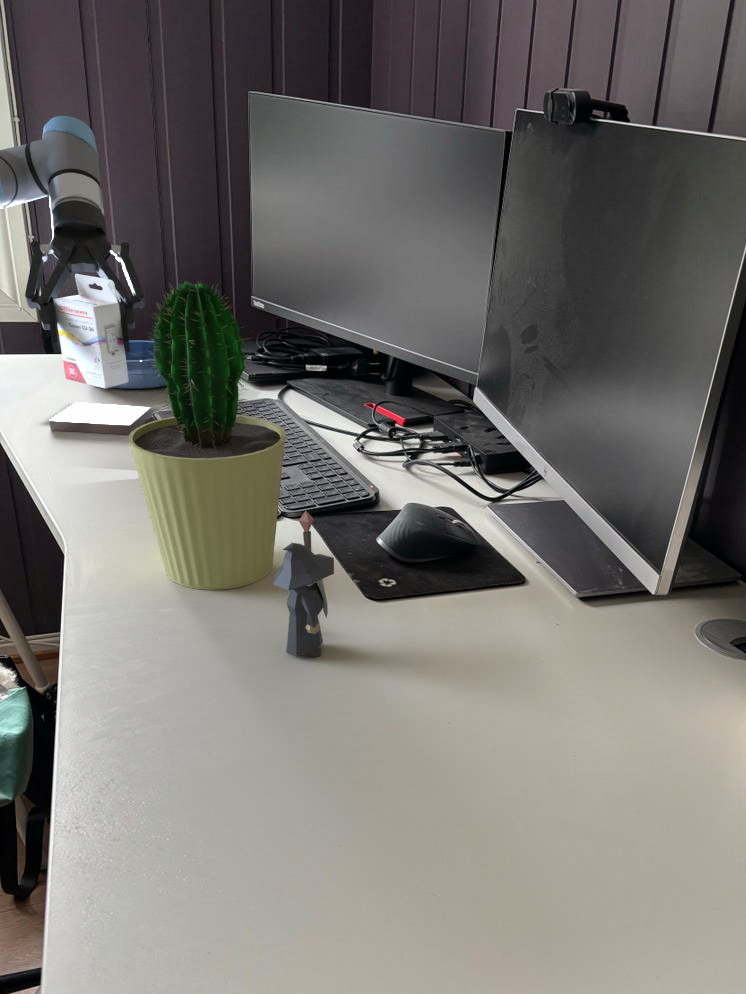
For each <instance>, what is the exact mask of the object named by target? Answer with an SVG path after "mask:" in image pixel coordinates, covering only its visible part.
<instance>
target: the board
mask: <svg viewBox="0 0 746 994" xmlns="http://www.w3.org/2000/svg"><path fill="white" fill-rule="evenodd" d="M153 417H154V415H153V407H152V406H139V405H137V406H136V405H121V404H120V405H119V404H107V403H105V404H103V403H90V402H89V403H88V402H87V403H86V402H75V403H73V404H72V405H70V406H69V407H67V408H66V409H64V410H63V411H61V412H59V413H58V414H56V415H55V416H54V417H52V418H51V419H49V420H48V422H49V428H50V431H58V432H75V433H90V434H92V433H93V434H106V435H107V434H109V435H123V436H124V435H127V436H129V435H130V433H131V432H132V431H133V430H135V429H136V428H138V427H140V426H142V425H144V424H146V423H148V421H149V420H151V419H152V418H153Z"/></svg>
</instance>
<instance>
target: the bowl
mask: <svg viewBox="0 0 746 994" xmlns="http://www.w3.org/2000/svg"><path fill="white" fill-rule="evenodd" d="M149 343H150V344H149ZM154 344H155V343H154V340H129V345H130V351H127V352H125V356H126V363H127V371H128V379H129V382H127V383H124V384H120V385H116V386H113V387H111V389H119V390H120V389H123V390H146V389H156V388H162V387H163V386H162V385H166V380H165V378H164V377H163V376H161V375H160V376H159V377H158V376H157V375H158V374H160V373H159V371H158V370H159V369H158V370H157V368H155V367H156V361H154V360H155V359H154V355H152V353H155V352H154V351H155V350H152V349H154V347H153V346H154ZM151 347H152V348H151ZM146 349H147V350H146ZM149 351H150V352H149ZM148 353H149V354H148ZM150 354H151V355H150ZM152 357H153V358H152ZM148 358H150V359H148ZM144 359H146V360H144ZM152 359H153V360H152ZM153 362H155V363H153ZM150 365H155V367H154V366H150ZM151 367H152V368H151ZM146 368H150V369H146ZM157 371H158V372H157ZM156 372H157V373H156ZM155 373H156V374H155ZM154 374H155V375H154ZM153 375H154V376H153ZM155 379H156V380H155Z"/></svg>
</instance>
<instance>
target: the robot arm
mask: <svg viewBox="0 0 746 994" xmlns="http://www.w3.org/2000/svg"><path fill="white" fill-rule="evenodd" d="M100 172H101V171H100V155H99V152H98V148H97V142H96V137H95V134H94V132H93V129H91V128H90V127H89V125H87V124H86V123H85V122H84V121H82V120H81V119H78V118H76V117H73V116H69V115H59V116H54V117H51V118H50V119H49V121H47V122H46V123H45V124H44V126H43V129H42V137H41V139H37V140H34V141H31V142H27V143H25V144H21V145H16V146H12V147H7V148H3V149H0V210H4V209H7V208H8V209H9V208H13V206H16V205H21V204H25V203H28V202H32V201H36V200H39V199H42V198H46V197H48V198H49V199H48V200H49V208H50V219H51V230H52V239H51V240H50V242H49V243H44V244H40V243H39V241H37V240H32V241H30V249H31V252H32V257H31V262H30V263H31V264H30V268H29V272H28V277H27V282H26V288H25V292H24V297H25V300H26V304H27V306H28V308H29V309H31V310H34V309H38V310H39V311H40V322H41V325H42V329H44V331H50V340H51V341H50V342H51V345H52V350H53V353H54V354H61V346H60V338H59V332H58V325H57V318H56V312H55V306H54V300H53V299H56V298H59V295H60V293H61V291H62V289H63V288H64V286H65V283H66V282H67V280H68V279H70V277H71V275H72V274H73V273H82V272H85V273H86V272H87V273H90V274H91V273H92V274H93V273H97V275H98V277H99V278H102V279H108V280H112V281H113V282H114V284H115V290H116V295H117V300H118V303H119V309H120V317H121V326H122V334H123V343H124V349H125V352H127V351H130V345H129V341H130V338H129V330H135V328H136V318H135V310H136V309H138V308H139V309H145V307H146V297H145V293H144V290H143V287H142V285H141V282H140V279H139V276H138V274H137V272H136V270H135V267H134V264H133V262H132V260H131V256H132V255H131V247H130V244H129V243H128V242H126V241H123V242H121V243H120V245H118V244H111V242H110V241H109V239H108V235H107V226H106V218H105V208H104V198H103V191H102V184H101V174H100ZM51 254H52V255H53V256H54V257H55V258H56V259H57V261H56V264H55V265H56V266H55V267H54V269H53V271H52V273H51V275H50V277H49V278H48V280H47V282H46V284H45V285H44V287H43V290H42V291H41V287H42V282H43V276H44V271H45V263H46V262H47V261H48V260H49V256H50V255H51ZM112 255H113V256H115V259H116V260H117V261H118V262H119V263H121V266H122V270H123V273H124V276H125V278H126V281H127V284H128V286H129V289H130V290H131V294H130V293H129V291H128V290H127V288H126V287H125V286H124V284H123V283H122V282H121V280H120V279H119V277H118V276H117V275H116V274H115V272H114V270H113V269H112V268H111V267H110V266H109V263H108V260H109V258H110V257H111V256H112ZM40 292H41V293H40Z"/></svg>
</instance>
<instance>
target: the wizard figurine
mask: <svg viewBox="0 0 746 994" xmlns="http://www.w3.org/2000/svg"><path fill="white" fill-rule="evenodd" d="M314 520H315V518H313V516H312V515H311V514H310V513H309V512H308V511H307V510H304V512H303V514H301V517H300V518H299V520H298V522H299V524H300V526H301V527H302V529H303V532H302V536H303V544H302V543H298V542H290V543H289V544H288V545H287V546H285V547H284V548H282V551H286V552H285V553H284V557H283V562H282V564H281V566H280V567H279V568H278V569H277V570H276V572H275V574H274V575H275V576H274V580H273V585H274V586H276V587H279V588H281V589H284V590H286V591H289V592H288V596H287V599H286V606H287V607H286V608H287V609H288V612H289V614H288V615H289V616H288V629H287V641H286V643H287V644H286V653H288V654H290V655H292V656H295V657H300V656H303V657H304V658H316V657H321V656H322V651H323V648H322V645H323V642H324V640H323V634H322V630H321V625H320V619H319V615H320V614H321V612H322V610H323V614H324V616H325V619H327V617H328V613H329V610H328V607H329V605H328V599H327V595H326V589H325V585H324V579H326V578H328V577H330V576H333V575H334V574H335V557H333V556H329V555H326V554H321V553H316V554H315V553H314V552H313V551H312V530H310V529H311V527H312V526H313V523H314Z"/></svg>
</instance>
